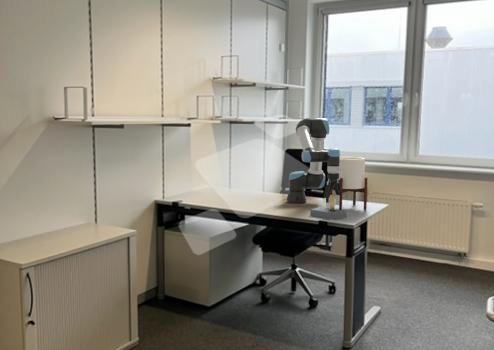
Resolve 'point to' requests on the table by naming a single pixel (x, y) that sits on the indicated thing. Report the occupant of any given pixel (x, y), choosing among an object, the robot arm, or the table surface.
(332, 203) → the brass peg
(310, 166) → the robot arm
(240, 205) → the table surface
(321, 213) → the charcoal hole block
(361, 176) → the plant pot with stand
